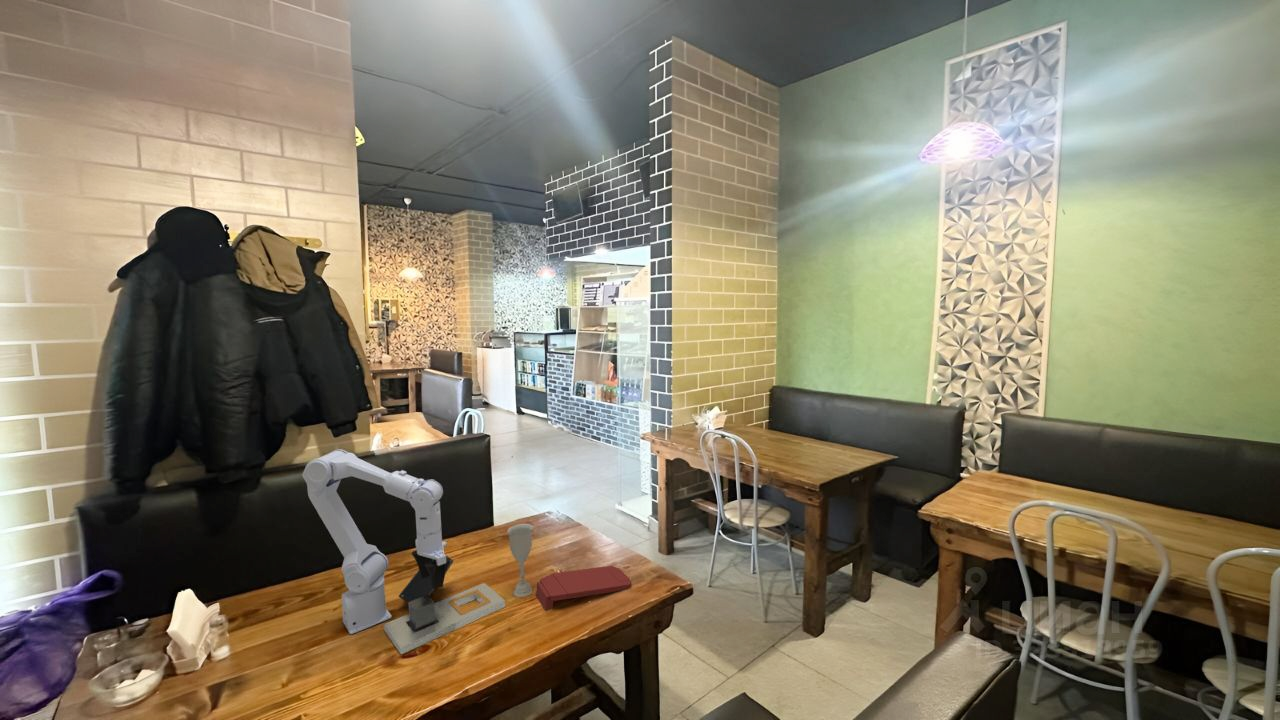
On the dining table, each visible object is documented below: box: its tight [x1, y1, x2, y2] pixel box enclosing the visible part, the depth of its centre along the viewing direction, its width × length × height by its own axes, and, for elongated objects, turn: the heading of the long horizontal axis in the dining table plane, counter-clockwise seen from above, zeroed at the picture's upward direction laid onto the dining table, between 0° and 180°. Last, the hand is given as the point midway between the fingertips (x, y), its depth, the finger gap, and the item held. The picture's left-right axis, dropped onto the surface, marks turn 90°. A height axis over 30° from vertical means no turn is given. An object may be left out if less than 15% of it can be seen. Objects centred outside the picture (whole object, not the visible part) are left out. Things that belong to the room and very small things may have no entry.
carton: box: [535, 565, 632, 612], centre depth 137 cm, size 12×5×25 cm
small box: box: [398, 554, 454, 604], centre depth 133 cm, size 11×6×10 cm
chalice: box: [507, 523, 534, 598], centre depth 135 cm, size 7×7×18 cm
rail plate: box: [383, 582, 506, 655], centre depth 125 cm, size 26×12×2 cm, turn 133°
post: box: [407, 595, 435, 633], centre depth 120 cm, size 4×4×7 cm
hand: (432, 582), depth 124 cm, fingers open, 7 cm apart
